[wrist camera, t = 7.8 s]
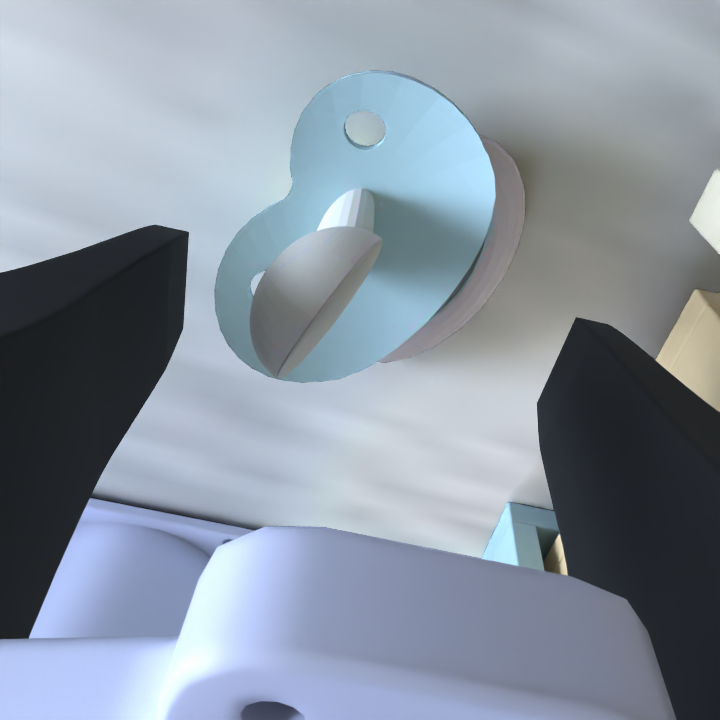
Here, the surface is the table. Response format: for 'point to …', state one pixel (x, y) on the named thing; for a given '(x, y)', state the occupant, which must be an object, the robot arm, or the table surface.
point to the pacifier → (371, 236)
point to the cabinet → (523, 536)
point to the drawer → (687, 336)
